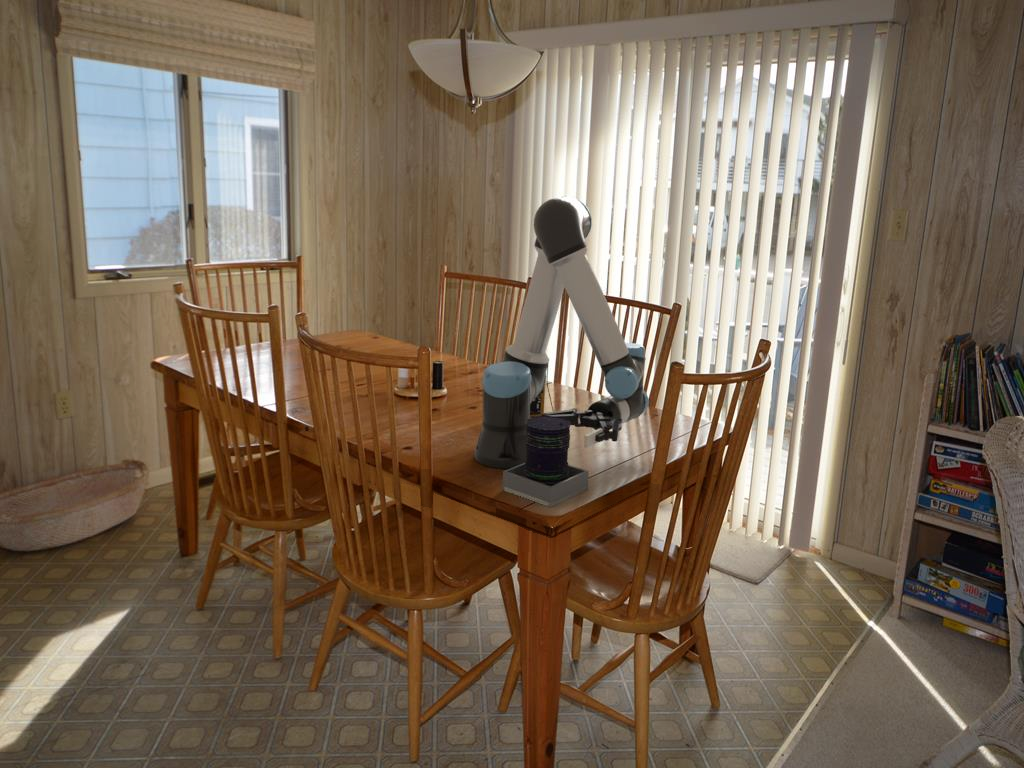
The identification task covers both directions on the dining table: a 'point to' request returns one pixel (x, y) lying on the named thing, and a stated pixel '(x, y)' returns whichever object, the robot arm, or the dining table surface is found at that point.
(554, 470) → the dark blue ribbed cylinder
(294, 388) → the dining table surface
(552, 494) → the cradle tray
